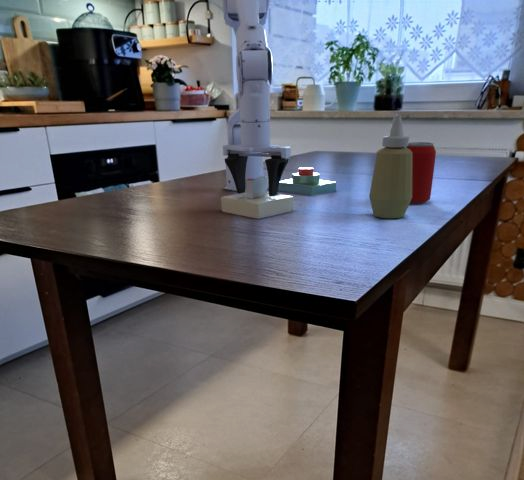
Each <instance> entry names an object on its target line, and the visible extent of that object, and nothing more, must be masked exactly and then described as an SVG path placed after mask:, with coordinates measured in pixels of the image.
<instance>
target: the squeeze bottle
mask: <svg viewBox="0 0 524 480" xmlns="http://www.w3.org/2000/svg"><path fill="white" fill-rule="evenodd" d="M402 119H403V118H402V114H394V115H393V119H392V122H391V125H390V129H389V133H388V135H385V136H382V144H381V146H382V148H379V149H378V150H377V151H376V154H375V160H374V166H373V172H372V178H371V184H370V189H369V195H368V198H369V200H370V205H371V210H372V214H373V216H374V217H377V218H381V219H398V218H399V219H400V218H403V217H404V216H406V213H407V211H408V209H409V206H410V201H411V199H412V156H413V152H412V151H411V150H410V149H407V148H405V147H407V146H408V143H409V139H410V137H409V136H406V135H404V129H403V120H402Z"/></svg>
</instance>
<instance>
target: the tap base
mask: <svg viewBox="0 0 524 480" xmlns="http://www.w3.org/2000/svg"><path fill="white" fill-rule="evenodd" d="M220 199H221V200H220V201H221V202H220V203H221V212H223V213H228V214H232V215H237V216H242V217H246V218H250V219H251V218H252V219H257V220H260V219H265V218H268V217H273V216H277V215H282V214H286V213H291V212H294V196H293V195H287V194H281V193H277V195H275V196H269V191H267V194H266V195H263V196H260V197H257V198H254V199H248V198H246V192H244V193H240V194H239V193H235V194H229V195H224V196H221V198H220Z"/></svg>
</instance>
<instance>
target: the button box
mask: <svg viewBox="0 0 524 480" xmlns="http://www.w3.org/2000/svg"><path fill="white" fill-rule="evenodd" d="M291 176H292V178H289V179H284V180H280V183H279V187H278V192H285V193H291V194H298V195H304V196H310V197H311V196H312V197H313V196H317V195H323V194H327V193H333V192H336V191H337V181H332V180H323V179H320V173H318V172H313V175H299V172H294V173H292V175H291Z"/></svg>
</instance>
